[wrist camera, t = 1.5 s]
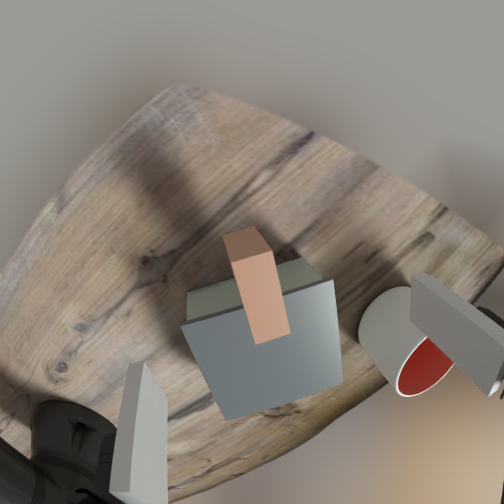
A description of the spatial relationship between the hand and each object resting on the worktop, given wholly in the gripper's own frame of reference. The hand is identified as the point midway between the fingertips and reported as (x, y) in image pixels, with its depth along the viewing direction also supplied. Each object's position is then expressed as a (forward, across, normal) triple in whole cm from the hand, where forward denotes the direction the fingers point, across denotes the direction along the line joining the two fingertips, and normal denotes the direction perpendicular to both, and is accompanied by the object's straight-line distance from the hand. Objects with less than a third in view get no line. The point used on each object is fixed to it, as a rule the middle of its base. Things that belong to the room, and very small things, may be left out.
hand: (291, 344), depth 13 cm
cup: (+17, +16, -16) cm, 28 cm away
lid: (+11, 0, -7) cm, 13 cm away
